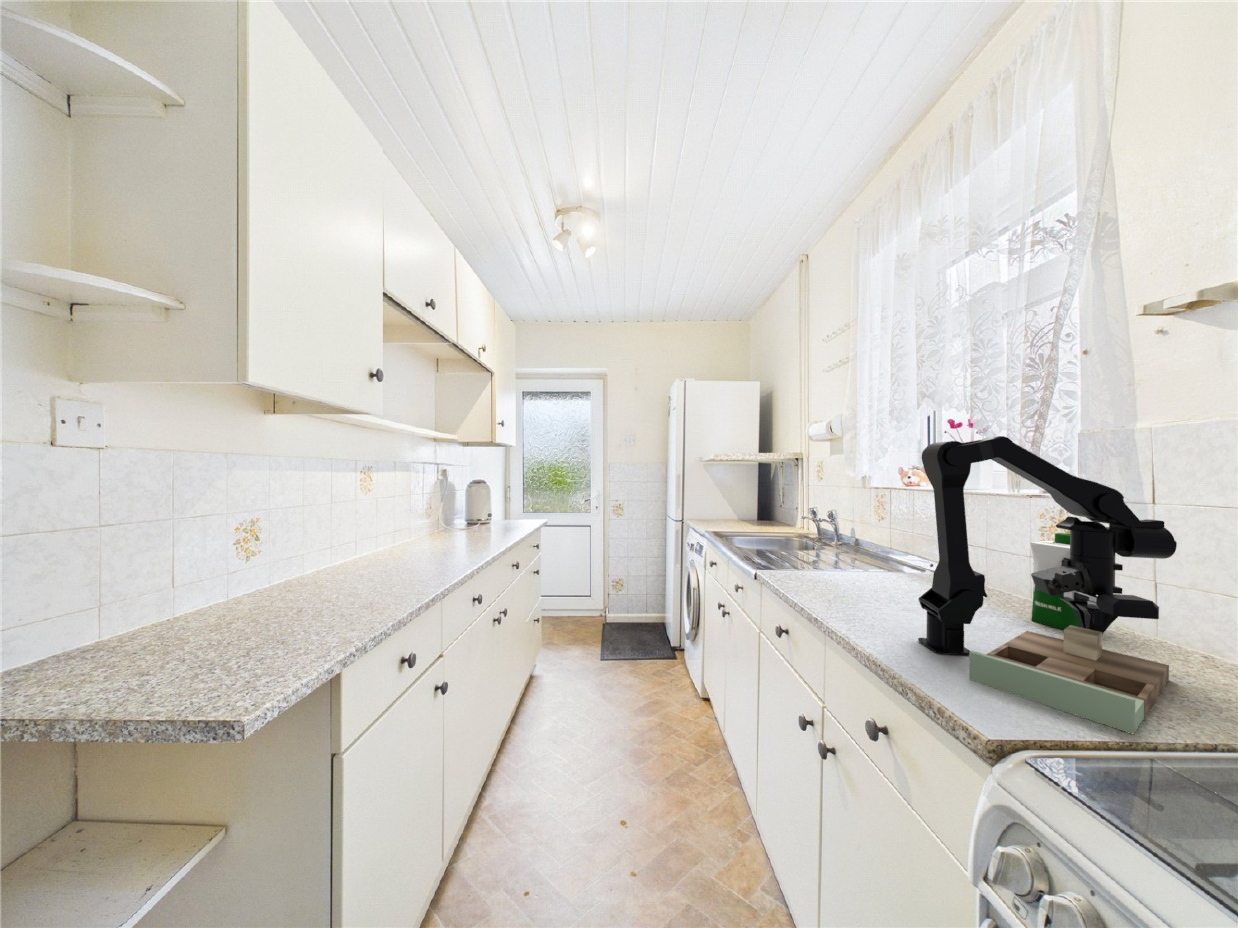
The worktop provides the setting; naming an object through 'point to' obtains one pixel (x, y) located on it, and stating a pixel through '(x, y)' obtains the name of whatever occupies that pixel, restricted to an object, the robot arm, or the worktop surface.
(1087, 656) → the maple block
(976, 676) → the pad
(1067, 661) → the trap board
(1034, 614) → the milk carton
